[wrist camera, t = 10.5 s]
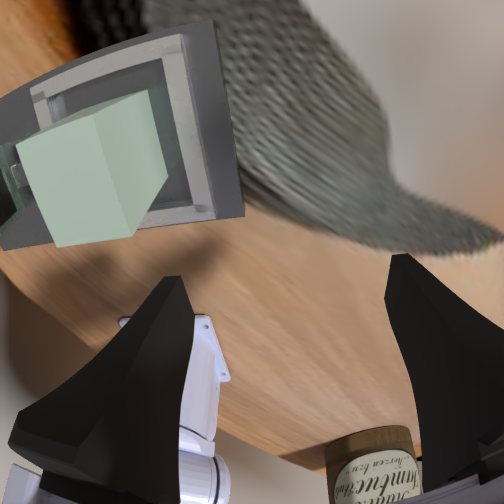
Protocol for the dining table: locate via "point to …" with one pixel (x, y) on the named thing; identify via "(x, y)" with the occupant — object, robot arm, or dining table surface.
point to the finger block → (96, 170)
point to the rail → (165, 116)
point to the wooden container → (372, 467)
